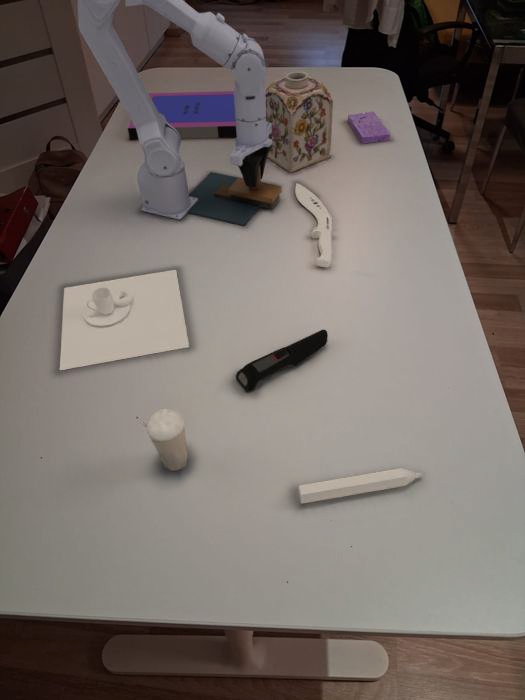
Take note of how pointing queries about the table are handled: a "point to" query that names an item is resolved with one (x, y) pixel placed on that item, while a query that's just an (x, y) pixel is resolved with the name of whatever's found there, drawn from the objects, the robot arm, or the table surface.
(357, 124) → the sponge
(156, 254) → the table surface
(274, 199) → the brush
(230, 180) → the mat
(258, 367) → the electric trimmer
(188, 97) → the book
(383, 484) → the white pencil
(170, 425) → the milkshake
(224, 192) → the grime chip
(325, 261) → the knife
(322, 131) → the decorative jar
